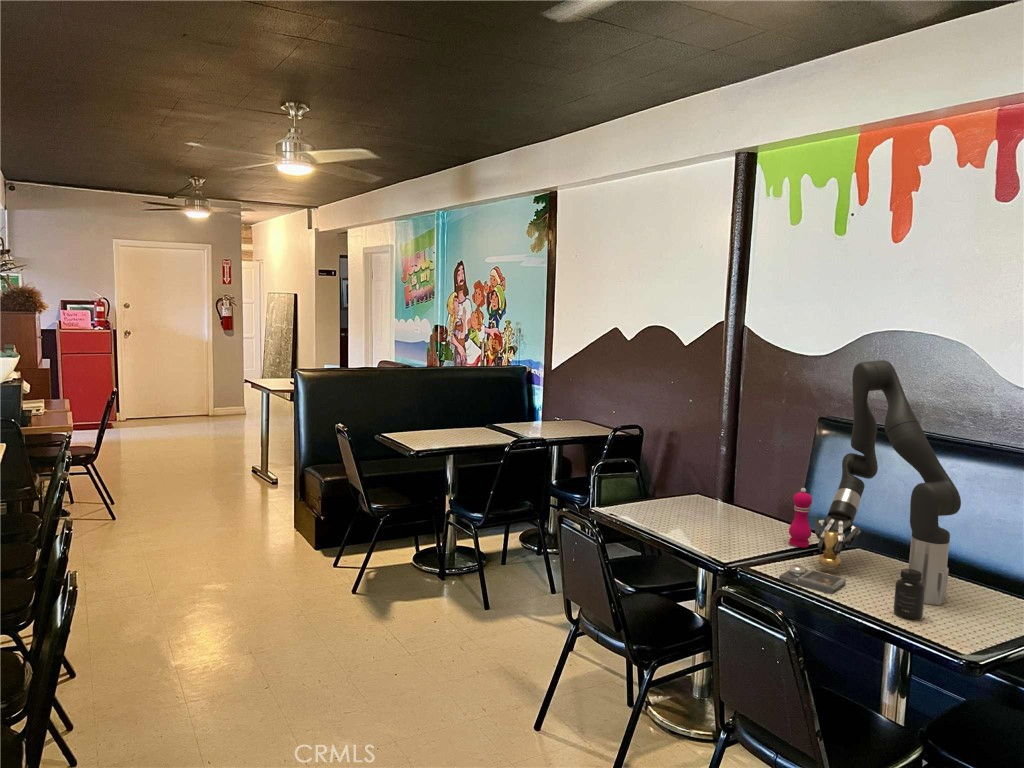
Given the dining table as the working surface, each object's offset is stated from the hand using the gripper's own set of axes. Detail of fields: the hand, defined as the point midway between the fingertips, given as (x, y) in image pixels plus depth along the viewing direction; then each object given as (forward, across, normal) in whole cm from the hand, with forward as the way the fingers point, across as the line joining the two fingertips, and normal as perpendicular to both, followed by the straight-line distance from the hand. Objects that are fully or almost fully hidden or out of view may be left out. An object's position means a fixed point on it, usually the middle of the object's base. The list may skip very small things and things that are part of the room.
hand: (828, 551), depth 220 cm
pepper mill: (-11, -18, +21) cm, 30 cm away
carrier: (+12, 0, -2) cm, 13 cm away
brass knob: (+2, 0, +4) cm, 5 cm away
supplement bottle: (+17, +27, -6) cm, 32 cm away
